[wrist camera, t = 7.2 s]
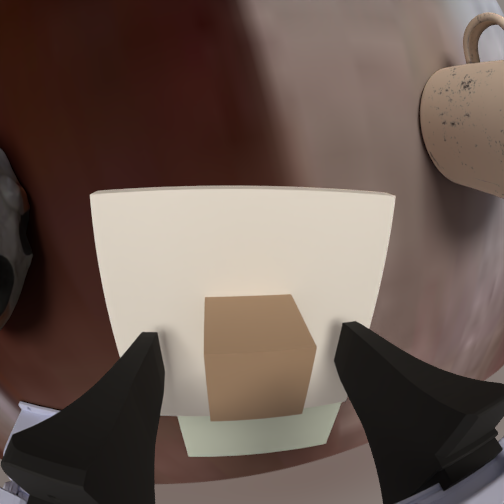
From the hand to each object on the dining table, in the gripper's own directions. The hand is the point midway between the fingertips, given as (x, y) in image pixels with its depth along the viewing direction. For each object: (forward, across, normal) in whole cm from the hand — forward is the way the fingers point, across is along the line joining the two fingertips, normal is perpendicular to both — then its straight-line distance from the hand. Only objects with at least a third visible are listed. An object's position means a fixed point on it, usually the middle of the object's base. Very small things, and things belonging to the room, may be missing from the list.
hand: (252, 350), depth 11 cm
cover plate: (+2, 0, 0) cm, 2 cm away
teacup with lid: (+7, -15, -12) cm, 20 cm away
